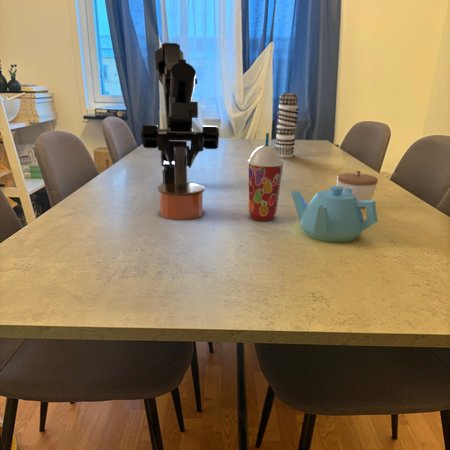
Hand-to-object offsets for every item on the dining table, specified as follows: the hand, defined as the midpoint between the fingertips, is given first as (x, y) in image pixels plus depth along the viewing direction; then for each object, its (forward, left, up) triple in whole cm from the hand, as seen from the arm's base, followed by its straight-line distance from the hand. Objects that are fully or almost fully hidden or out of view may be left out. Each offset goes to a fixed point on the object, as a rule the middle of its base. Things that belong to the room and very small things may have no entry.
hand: (180, 166), depth 104 cm
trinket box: (-48, +7, -12) cm, 50 cm away
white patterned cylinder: (-71, -70, -12) cm, 101 cm away
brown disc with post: (0, -1, -6) cm, 6 cm away
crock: (0, -1, -12) cm, 12 cm away
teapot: (-27, +25, -12) cm, 39 cm away
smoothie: (-18, +9, -12) cm, 24 cm away
